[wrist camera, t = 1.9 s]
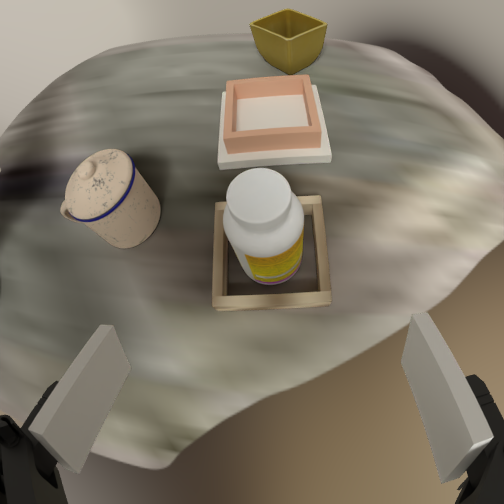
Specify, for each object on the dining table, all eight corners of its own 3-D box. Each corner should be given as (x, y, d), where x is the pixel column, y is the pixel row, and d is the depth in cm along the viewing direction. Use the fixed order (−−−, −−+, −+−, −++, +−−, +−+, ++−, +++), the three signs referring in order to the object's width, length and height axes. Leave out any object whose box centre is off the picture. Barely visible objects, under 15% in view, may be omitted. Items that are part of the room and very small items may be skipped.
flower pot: (327, 66, 45) (329, 22, 36) (291, 86, 43) (288, 39, 35) (290, 47, 48) (287, 7, 39) (254, 65, 46) (247, 23, 38)
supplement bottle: (314, 256, 33) (325, 193, 21) (270, 299, 32) (256, 257, 20) (272, 217, 35) (260, 143, 24) (228, 256, 34) (194, 196, 23)
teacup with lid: (163, 181, 39) (125, 122, 29) (164, 243, 36) (117, 193, 25) (88, 202, 40) (41, 157, 29) (83, 261, 37) (25, 224, 26)
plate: (220, 170, 39) (211, 148, 35) (224, 99, 44) (218, 77, 40) (330, 162, 37) (333, 139, 33) (315, 92, 42) (316, 69, 38)
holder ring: (217, 311, 32) (211, 306, 30) (220, 212, 36) (215, 202, 34) (328, 306, 31) (331, 301, 29) (319, 206, 35) (320, 195, 33)
